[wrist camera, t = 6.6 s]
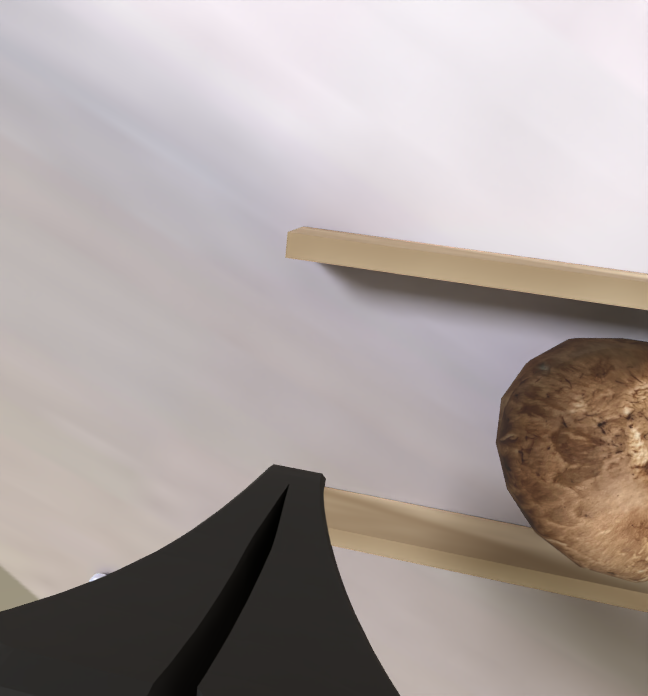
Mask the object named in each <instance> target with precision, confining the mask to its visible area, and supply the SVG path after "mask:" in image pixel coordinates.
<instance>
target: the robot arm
mask: <svg viewBox="0 0 648 696" xmlns="http://www.w3.org/2000/svg"><path fill="white" fill-rule="evenodd" d="M325 480H326V478H325V477H324V476H323V474H321V473H316V472H311V471H306V470H301V469H295V468H290V467H285V466H280V465H275V464H274V465H272V466H271V467H269V468H268V469H267V470H266V471H265V472H264V473H263V474H262V475H260V476H259V477H258V478H257V479H256V480H255V481H254V482H253V483H252V484H250V485H249V486H248V487H247V488H246V489H245V490H244V491H242V492H241V493H240V494H239V495H238V496H236V497H235V498H234V499H233V500H231V501H230V502H229V503H228V504H226V505H225V506H224V507H223V508H221V509H220V510H219V511H218V512H216V513H215V514H213V515H212V516H211V517H209V518H208V519H206V520H205V521H204V522H202V523H201V524H199V525H198V526H197V527H195V528H194V529H192V530H191V531H189V532H188V533H186V534H185V535H183V536H181V537H180V538H178V539H177V540H175V541H173V542H172V543H170V544H168V545H167V546H165V547H163V548H161V549H160V550H158V551H156V552H154V553H152V554H150V555H148V556H146V557H144V558H142V559H140V560H138V561H136V562H134V563H132V564H130V565H128V566H125V567H123V568H121V569H119V570H117V571H115V572H113V573H110V574H108V575H105V574H99V573H97V574H95V575H94V576H93V577H92V578H91V579H90V580H89V582H88V583H86V584H83V585H81V586H78V587H75V588H73V589H70V590H67V591H65V592H62V593H59V594H56V595H53V596H50V597H47V598H44V599H40V600H37V601H34V602H31V603H28V604H24V605H21V606H19V607H15V608H12V609H9V610H5V611H1V612H0V696H400V695H399V693H398V691H397V690H396V688H395V687H394V685H393V683H392V682H391V680H390V679H389V677H388V675H387V674H386V672H385V670H384V668H383V667H382V665H381V663H380V661H379V660H378V658H377V656H376V654H375V653H374V651H373V649H372V647H371V645H370V643H369V641H368V639H367V637H366V635H365V633H364V631H363V629H362V627H361V625H360V623H359V621H358V619H357V617H356V615H355V612H354V610H353V607H352V605H351V603H350V600H349V598H348V595H347V593H346V590H345V587H344V585H343V582H342V579H341V576H340V573H339V570H338V567H337V564H336V560H335V557H334V553H333V549H332V546H331V541H330V537H329V532H328V527H327V521H326V515H325V507H324V487H325Z"/></svg>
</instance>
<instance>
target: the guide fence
mask: <svg viewBox="0 0 648 696" xmlns="http://www.w3.org/2000/svg"><path fill="white" fill-rule="evenodd" d="M285 258H292V259H299V260H306V261H313V262H320V263H327V264H334V265H340V266H347V267H354V268H361V269H368V270H375V271H382V272H389V273H395V274H402V275H409V276H416V277H423V278H430V279H437V280H444V281H450V282H457V283H464V284H471V285H478V286H485V287H492V288H499V289H505V290H512V291H519V292H526V293H533V294H540V295H547V296H554V297H560V298H567V299H574V300H581V301H588V302H595V303H602V304H609V305H615V306H622V307H629V308H636V309H643V310H648V274H645V273H638V272H630V271H623V270H616V269H609V268H601V267H594V266H587V265H580V264H572V263H565V262H558V261H550V260H543V259H536V258H529V257H521V256H514V255H507V254H499V253H492V252H485V251H478V250H470V249H463V248H456V247H449V246H441V245H434V244H427V243H419V242H412V241H405V240H398V239H390V238H383V237H376V236H369V235H361V234H354V233H347V232H339V231H332V230H325V229H318V228H310V227H301V228H298V229H295V230H292V231H290V232H288V235H287V246H286V257H285ZM324 507H325V515H326V521H327V527H328V532H329V537H330V541H331V546H336V547H341V548H346V549H350V550H355V551H360V552H365V553H369V554H374V555H379V556H383V557H388V558H393V559H398V560H402V561H407V562H412V563H416V564H421V565H426V566H431V567H435V568H440V569H445V570H450V571H454V572H459V573H464V574H468V575H473V576H478V577H483V578H487V579H492V580H497V581H501V582H506V583H511V584H516V585H520V586H525V587H530V588H535V589H539V590H544V591H549V592H553V593H558V594H563V595H568V596H572V597H577V598H582V599H586V600H591V601H596V602H601V603H605V604H610V605H615V606H620V607H624V608H629V609H634V610H638V611H643V612H648V581H644V582H638V583H634V582H630V581H627V580H623V579H620V578H616V577H613V576H609V575H606V574H602V573H598V572H595V571H591V570H588V569H584V568H581V567H579V566H578V565H576V564H575V563H574V562H572V561H571V560H570V559H568V558H567V557H566V556H565V555H563V554H562V553H561V552H559V551H558V550H557V549H556V548H554V547H553V546H552V545H550V544H549V543H548V542H547V541H545V540H544V539H543V538H541V537H540V536H539V535H537V534H536V533H535V532H534V530H533V528H530V527H525V526H520V525H515V524H510V523H504V522H499V521H494V520H489V519H484V518H479V517H474V516H469V515H464V514H459V513H454V512H449V511H444V510H439V509H434V508H429V507H424V506H419V505H414V504H409V503H404V502H399V501H394V500H388V499H383V498H378V497H373V496H368V495H363V494H358V493H353V492H348V491H343V490H338V489H333V488H328V487H324Z"/></svg>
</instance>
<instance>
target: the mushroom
mask: <svg viewBox="0 0 648 696" xmlns="http://www.w3.org/2000/svg"><path fill="white" fill-rule="evenodd" d="M496 445H497V449H498V453H499V457H500V461H501V466H502V470H503V474H504V478H505V482H506V486H507V490H508V491H509V493H510V494H511V496H512V497H513V499H514V500H515V502H516V504H517V505H518V507H519V508H520V510H521V511H522V513H523V514H524V516H525V518H526V519H527V521H528V522H529V524H530V525H531V527H532V528H533V530H534V532H535V533H536V534H537V535H539V536H540V537H541V538H543V539H544V540H545V541H547V542H548V543H549V544H550V545H552V546H553V547H554V548H556V549H557V550H558V551H559V552H561V553H562V554H563V555H565V556H566V557H567V558H568V559H570V560H571V561H572V562H574V563H575V564H576V565H578V566H579V567H581V568H584V569H588V570H591V571H595V572H598V573H602V574H606V575H609V576H613V577H616V578H620V579H623V580H627V581H630V582H634V583H638V582H644V581H648V342H643V341H637V340H630V339H623V338H574V339H568V340H566V341H564V342H563V343H561V344H559V345H557V346H555V347H553V348H552V349H550V350H548V351H546V352H544V353H543V354H541V355H539V356H537V357H535V358H533V359H532V360H530V361H529V362H528V363H526V364H525V366H524V367H523V369H522V370H521V372H520V373H519V374H518V376H517V377H516V379H515V380H514V381H513V383H512V384H511V386H510V387H509V388H508V390H507V391H506V393H505V394H504V395H503V397H502V398H501V405H500V414H499V422H498V430H497V439H496Z"/></svg>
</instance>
